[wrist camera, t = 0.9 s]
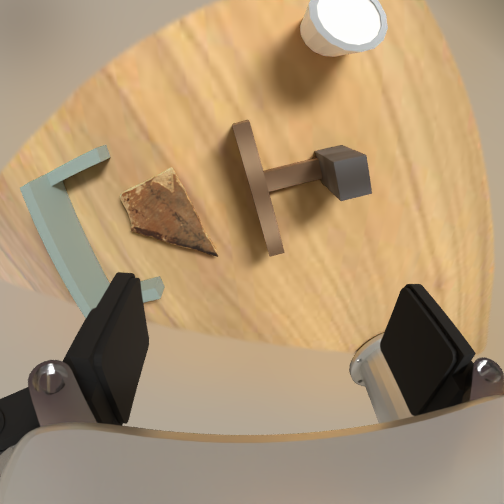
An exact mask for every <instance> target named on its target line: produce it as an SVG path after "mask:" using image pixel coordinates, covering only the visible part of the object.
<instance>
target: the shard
mask: <svg viewBox="0 0 504 504" xmlns="http://www.w3.org/2000/svg"><path fill="white" fill-rule="evenodd" d="M120 199H121V201H122V203H123V205H124V207H125V209H126V210H127V212H128V215H129V218H130V221H131V224H132V227H131V231H133V232H137V233H141V234H143V235H145V236H149V237H154V238H155V239H158V240H161V241H165V242H167V243H170V244H174V245H177V246H181V247H185V248H189V249H193V250H198V251H202V252H205V253H207V254H209V255H213V256H217V257H218V254H217V252H216V248H215V246H214V245H213V243H212V241H211V239H210V238H209V236H208V235H207V234H206V232H205V231H204V229H203V227H202V225H201V222H200V219H199V216H198V215H197V213H196V211H195V210H194V207H193V204H192V202H191V200H190V199H189V197H188V195H187V193H186V190H185V188H184V186H183V185H182V183H181V182H180V181H179V179H178V177H177V175H176V173H175V171H174V169H173V168H172V167H171V168H169V169H167V170H166V171H164V172H162V173H160V174H158V175H156V176H154V177H153V178H150V179H149V180H147V181H145V182H143V183H141V184H138V185H137V186H135V187H132V188H129V189H128V190H126V191H124V192H123V193H122V194H121V195H120Z"/></svg>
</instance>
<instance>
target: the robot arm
mask: <svg viewBox="0 0 504 504" xmlns="http://www.w3.org/2000/svg"><path fill="white" fill-rule="evenodd" d="M148 346H149V336H148V331H147V325H146V318H145V312H144V305H143V298H142V290H141V283H140V279H139V278H135V275H134V274H133V273H121V272H118V273H117V274H116V275H115V277H114V278H113V280H112V281H111V283H110V285H109V286H108V288H107V290H106V291H105V293H104V295H103V296H102V298H101V300H100V302H99V303H98V305H97V307H96V308H93V309H92V310H91V311H90V312H89V314H88V316H87V318H86V319H85V321H84V323H83V325H82V327H81V328H80V330H79V332H78V334H77V335H76V337H75V339H74V341H73V343H72V345H71V347H70V348H69V350H68V352H67V354H66V356H65V358H64V360H63V362H62V361H59V360H48V361H44V362H42V363H40V364H38V365H37V366H36V367H35V368H34V369H33V370H32V371H31V373H30V374H29V378H28V387H27V388H25V389H23V390H20V391H18V392H16V393H13V394H11V395H9V396H7V397H4V398H2V399H0V504H504V373H503V371H502V369H501V368H500V366H499V365H498V364H497V363H495V362H494V361H493V360H491V359H488V358H478V359H477V360H476V361H475V362H474V363H473V362H472V361H471V360H472V358H473V357H474V355H475V352H474V350H473V349H472V348H471V346H470V345H469V344H468V342H467V341H466V340H465V338H464V337H463V336H462V334H461V333H460V332H459V330H458V329H457V328H456V326H455V325H454V324H453V323H452V321H451V320H450V319H449V317H448V316H447V315H446V314H445V312H444V311H443V310H442V309H441V307H440V306H439V305H438V304H437V303H436V301H435V300H434V299H433V298H432V297H431V295H430V294H429V293H428V292H427V291H426V289H425V288H424V287H423V286H422V285H421V284H407V285H406V286H405V287H404V288H402V289H401V291H400V294H399V297H398V299H397V302H396V305H395V307H394V310H393V312H392V315H391V317H390V320H389V322H388V325H387V327H386V330H385V332H384V333H382V334H380V335H378V336H376V337H374V338H373V339H371V340H370V341H368V342H367V343H366V344H364V345H363V346H362V347H361V348H360V349H359V350H358V351H357V353H356V354H355V355H354V357H353V359H352V361H351V363H350V369H349V370H350V375H351V377H352V379H353V381H354V382H355V383H357V384H358V385H361V386H365V387H366V389H367V392H368V395H369V397H370V400H371V403H372V405H373V408H374V411H375V414H376V416H377V419H378V422H379V424H373V425H368V426H361V427H354V428H347V429H340V430H331V431H322V432H311V433H298V434H280V435H279V434H278V435H216V434H198V433H184V432H171V431H161V430H153V429H145V428H137V427H128V426H122V424H123V423H127V422H128V420H129V416H130V412H131V408H132V404H133V400H134V396H135V393H136V389H137V385H138V382H139V378H140V374H141V371H142V367H143V364H144V360H145V357H146V353H147V350H148Z"/></svg>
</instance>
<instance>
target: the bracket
mask: <svg viewBox="0 0 504 504" xmlns="http://www.w3.org/2000/svg"><path fill="white" fill-rule="evenodd" d="M108 158H110V155H109V152H108V149H107V146H106V145H103V146H101V147H98V148H95V149H93V150H91V151H89V152H87V153H85V154H83V155H81V156H79V157H77V158H75V159H73V160H71V161H69V162H67V163H65V164H64V165H62V166H60V167H58V168H56V169H54V170H53V171H51V172H49V173H47V174H45V175H43V176H41V177H39V178H37V179H35V180H33V181H31V182H29V183H27V184H26V185H24V186H22V187H21V188H20V190H21V192H22V195H23V197H24V200H25V202H26V205H27V207H28V210H29V212H30V214H31V217H32V219H33V221H34V224H35V226H36V228H37V230H38V232H39V235H40V237H41V239H42V241H43V243H44V245H45V247H46V249H47V251H48V253H49V255H50V257H51V259H52V261H53V263H54V265H55V267H56V269H57V270H58V272H59V274H60V276H61V278H62V280H63V281H64V283H65V285H66V287H67V288H68V290H69V292H70V294H71V295H72V297H73V299H74V300H75V302H76V304H77V305H78V307H79V309H80V310H81V312H82V313H83V315H84V317H85V318H87V316H88V314H89V312H90V311H91V310H92V309H93V308H96V307H97V305H98V303H99V302H100V300H101V298H102V296H103V295H104V293H105V291H106V290H107V288H108V286H109V285H110V283H109V281H108V280H107V278H106V276H105V274H104V272H103V270H102V268H101V266H100V264H99V262H98V260H97V258H96V256H95V254H94V252H93V250H92V248H91V246H90V244H89V242H88V240H87V237H86V235H85V233H84V231H83V229H82V227H81V224H80V222H79V220H78V217H77V215H76V213H75V211H74V208H73V206H72V203H71V201H70V199H69V196H68V194H67V191H66V189H65V186H64V183H63V181H62V180H64V179H66V178H68V177H70V176H72V175H74V174H76V173H78V172H80V171H82V170H84V169H86V168H89V167H91V166H93V165H95V164H97V163H99V162H101V161H104V160H106V159H108ZM140 283H141V290H142V298H143V303H144V302H148V301H152V300H156V299H160V298H161V296H162V293H163V290H164V287H165V286H164V284H163V282H162V280H161V278H160V276H159V277H156V278H152V279H148V280H144V281H141V282H140Z"/></svg>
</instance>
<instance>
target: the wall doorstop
mask: <svg viewBox="0 0 504 504" xmlns="http://www.w3.org/2000/svg"><path fill="white" fill-rule="evenodd" d="M232 127H233V130H234V134H235V137H236V140H237V144H238V147H239V151H240V154H241V157H242V161H243V164H244V168H245V171H246V175H247V178H248V182H249V185H250V188H251V192H252V195H253V199H254V202H255V206H256V209H257V213H258V217H259V220H260V224H261V227H262V231H263V234H264V238H265V241H266V245H267V249H268V252H269V256H274V255H278V254H282V253H284V249H283V245H282V241H281V237H280V233H279V229H278V225H277V221H276V217H275V213H274V210H273V206H272V202H271V198H270V194H269V192H270V191H274V190H278V189H282V188H285V187H289V186H293V185H297V184H301V183H305V182H309V181H313V180H318V179H321V182H322V184H323V185H324V186H326V187H327V188H328V189H329V190H330V191H331V192H332V193H333V194H334V195H335V196H336V197H337V198H338V199H339V200H340V201H343V200H348V199H352V198H356V197H360V196H364V195H368V194H372V191H371V183H370V176H369V169H368V163H367V157H366V155H365V154H362V153H360V152H358V151H355V150H353V149H350V148H348V147H345V146H343V145H340V146H335V147H331V148H326V149H322V150H317V151H315V154H316V158H314V159H310V160H305V161H301V162H297V163H293V164H289V165H285V166H281V167H277V168H273V169H269V170H265V171H263V168H262V165H261V161H260V157H259V154H258V150H257V147H256V143H255V140H254V136H253V132H252V129H251V125H250V122H249V120H245V121H241V122H238V123H234V124H233V125H232Z"/></svg>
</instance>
